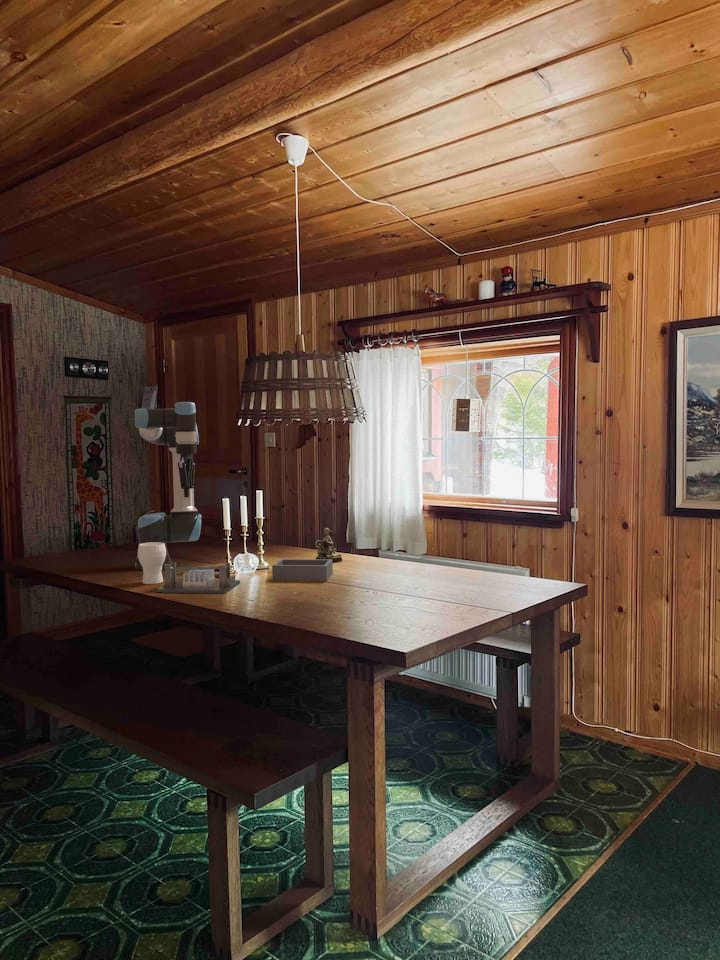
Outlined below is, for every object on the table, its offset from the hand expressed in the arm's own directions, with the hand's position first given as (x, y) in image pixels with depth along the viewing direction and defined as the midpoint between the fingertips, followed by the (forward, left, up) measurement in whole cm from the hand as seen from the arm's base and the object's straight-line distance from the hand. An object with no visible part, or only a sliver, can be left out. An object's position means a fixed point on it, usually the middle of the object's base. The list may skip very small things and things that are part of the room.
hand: (188, 505), depth 275 cm
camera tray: (-18, +40, -30) cm, 53 cm away
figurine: (-55, +44, -31) cm, 77 cm away
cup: (-5, -17, -31) cm, 35 cm away
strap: (+4, +5, -24) cm, 25 cm away
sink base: (+4, +5, -30) cm, 31 cm away
